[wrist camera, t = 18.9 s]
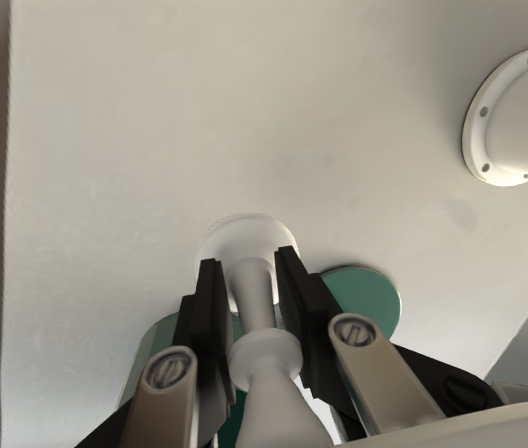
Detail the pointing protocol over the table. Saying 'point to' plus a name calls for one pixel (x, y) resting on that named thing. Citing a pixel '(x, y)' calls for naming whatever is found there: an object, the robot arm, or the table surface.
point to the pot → (162, 339)
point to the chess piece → (261, 334)
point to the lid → (365, 295)
